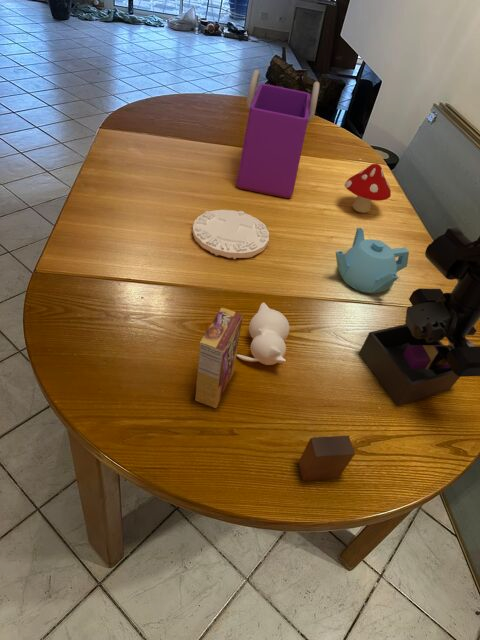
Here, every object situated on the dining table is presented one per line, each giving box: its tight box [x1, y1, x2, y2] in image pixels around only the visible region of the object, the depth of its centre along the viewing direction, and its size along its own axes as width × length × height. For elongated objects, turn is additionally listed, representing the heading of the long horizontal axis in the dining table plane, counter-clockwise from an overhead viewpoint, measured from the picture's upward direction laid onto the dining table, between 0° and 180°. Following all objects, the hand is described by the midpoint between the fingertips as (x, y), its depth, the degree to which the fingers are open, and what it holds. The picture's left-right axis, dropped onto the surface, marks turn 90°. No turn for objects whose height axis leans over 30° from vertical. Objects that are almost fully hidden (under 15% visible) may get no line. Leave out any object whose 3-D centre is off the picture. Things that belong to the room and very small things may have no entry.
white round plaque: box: [191, 209, 270, 260], centre depth 109 cm, size 20×20×3 cm
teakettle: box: [335, 227, 410, 295], centre depth 101 cm, size 15×15×11 cm
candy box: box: [194, 307, 244, 409], centre depth 70 cm, size 9×4×15 cm, turn 160°
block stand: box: [297, 435, 356, 482], centre depth 64 cm, size 6×3×8 cm, turn 98°
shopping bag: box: [236, 69, 321, 199], centre depth 128 cm, size 28×22×30 cm
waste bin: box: [358, 323, 461, 407], centre depth 82 cm, size 13×13×6 cm
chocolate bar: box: [403, 344, 450, 369], centre depth 77 cm, size 8×4×2 cm, turn 98°
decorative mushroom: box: [344, 163, 392, 214], centre depth 125 cm, size 14×14×15 cm
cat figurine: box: [236, 302, 291, 366], centre depth 81 cm, size 9×11×12 cm
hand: (426, 360), depth 78 cm, fingers closed on chocolate bar, 4 cm apart
